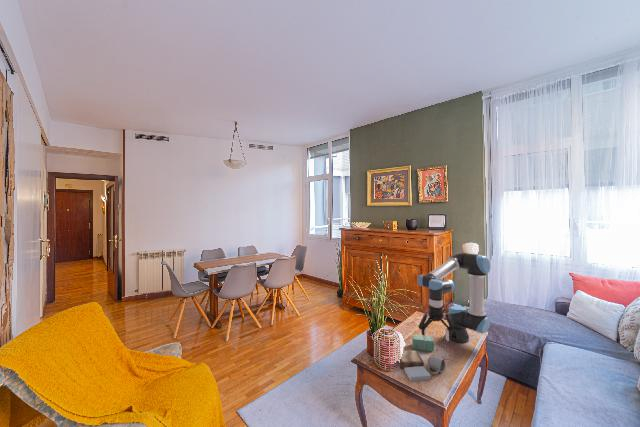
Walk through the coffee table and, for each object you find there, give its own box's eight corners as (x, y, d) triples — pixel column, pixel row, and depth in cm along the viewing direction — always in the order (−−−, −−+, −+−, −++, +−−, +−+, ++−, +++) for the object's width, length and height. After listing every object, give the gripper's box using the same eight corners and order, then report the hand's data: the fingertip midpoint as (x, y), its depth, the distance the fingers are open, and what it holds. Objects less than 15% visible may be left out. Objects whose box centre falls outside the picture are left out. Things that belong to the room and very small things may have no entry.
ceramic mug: (432, 363, 169) (432, 352, 169) (445, 369, 163) (445, 357, 163) (424, 371, 162) (424, 359, 161) (438, 377, 156) (438, 365, 156)
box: (433, 351, 183) (433, 341, 183) (413, 349, 186) (412, 339, 186) (432, 346, 190) (431, 335, 190) (412, 344, 193) (411, 334, 193)
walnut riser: (416, 356, 178) (416, 349, 178) (424, 369, 164) (424, 362, 164) (395, 356, 178) (395, 349, 178) (401, 369, 165) (400, 362, 164)
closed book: (423, 369, 163) (423, 365, 163) (430, 379, 154) (430, 375, 154) (404, 371, 162) (404, 367, 162) (410, 381, 153) (410, 377, 153)
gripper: (453, 303, 165) (453, 337, 165) (412, 303, 166) (413, 336, 166) (459, 307, 157) (459, 343, 158) (416, 308, 158) (416, 343, 159)
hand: (435, 340), depth 162 cm, fingers open, 13 cm apart
